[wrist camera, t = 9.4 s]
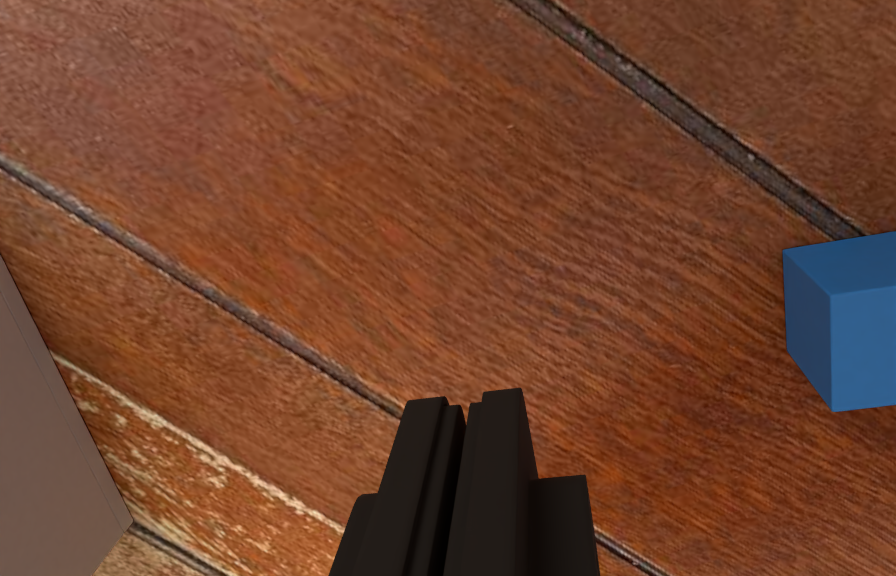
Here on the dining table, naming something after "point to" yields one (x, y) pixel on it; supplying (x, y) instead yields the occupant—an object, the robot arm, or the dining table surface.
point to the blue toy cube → (844, 319)
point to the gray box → (47, 461)
